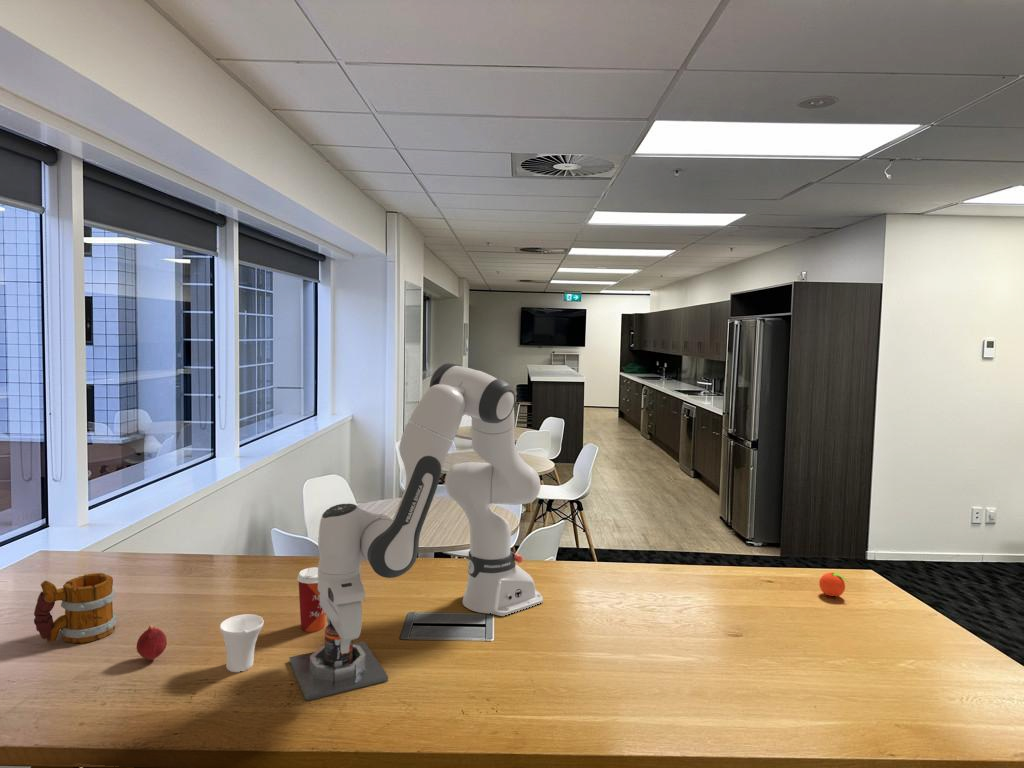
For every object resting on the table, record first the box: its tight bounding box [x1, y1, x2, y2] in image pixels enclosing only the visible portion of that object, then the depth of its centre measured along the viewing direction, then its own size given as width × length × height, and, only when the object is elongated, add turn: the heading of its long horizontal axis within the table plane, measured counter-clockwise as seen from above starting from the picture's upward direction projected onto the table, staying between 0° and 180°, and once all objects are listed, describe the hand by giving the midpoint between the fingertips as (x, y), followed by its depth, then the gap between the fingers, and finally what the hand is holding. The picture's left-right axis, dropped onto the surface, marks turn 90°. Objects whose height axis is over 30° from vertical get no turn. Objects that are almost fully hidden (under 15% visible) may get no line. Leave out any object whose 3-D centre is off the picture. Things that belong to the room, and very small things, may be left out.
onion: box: [135, 624, 168, 661], centre depth 143 cm, size 6×6×8 cm
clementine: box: [818, 572, 850, 598], centre depth 192 cm, size 8×7×7 cm
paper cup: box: [296, 566, 326, 633], centre depth 161 cm, size 8×8×14 cm
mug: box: [33, 572, 118, 644], centre depth 151 cm, size 11×16×15 cm, turn 137°
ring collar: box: [288, 641, 389, 702], centre depth 141 cm, size 17×17×4 cm
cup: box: [219, 613, 265, 673], centre depth 142 cm, size 9×9×10 cm
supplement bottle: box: [324, 621, 354, 667], centre depth 141 cm, size 6×6×11 cm
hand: (338, 641), depth 141 cm, fingers open, 8 cm apart
